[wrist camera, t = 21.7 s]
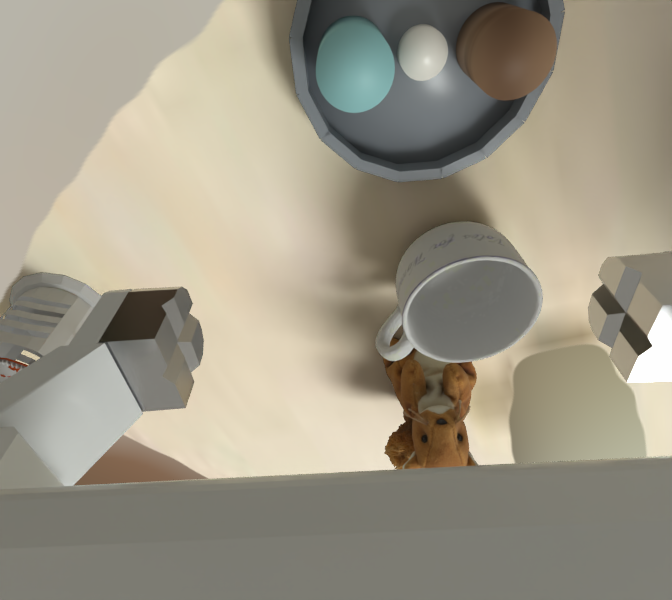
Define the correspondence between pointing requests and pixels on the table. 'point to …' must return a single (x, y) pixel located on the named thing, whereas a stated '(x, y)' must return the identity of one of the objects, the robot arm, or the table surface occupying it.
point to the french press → (42, 318)
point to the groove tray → (412, 89)
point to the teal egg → (354, 65)
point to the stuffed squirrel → (430, 411)
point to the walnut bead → (506, 49)
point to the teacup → (461, 296)
